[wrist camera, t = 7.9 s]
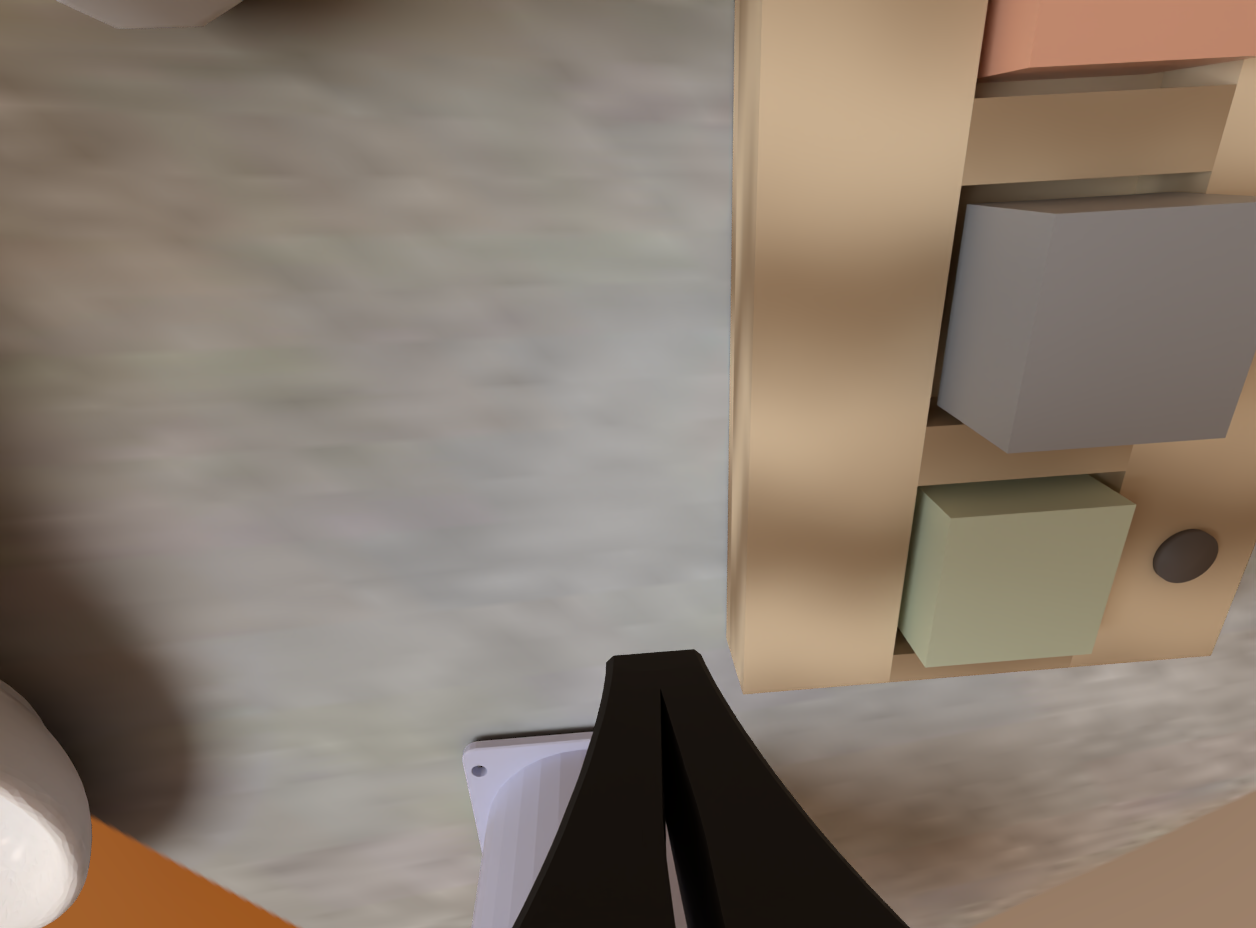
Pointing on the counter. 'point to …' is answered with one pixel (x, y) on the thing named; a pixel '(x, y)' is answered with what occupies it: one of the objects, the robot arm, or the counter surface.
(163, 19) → the salt shaker
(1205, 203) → the key slate
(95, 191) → the counter surface
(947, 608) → the key sage
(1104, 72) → the key terracotta
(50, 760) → the light grey curved piece
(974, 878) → the counter surface
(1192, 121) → the tan wooden slotted tray
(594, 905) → the robot arm
